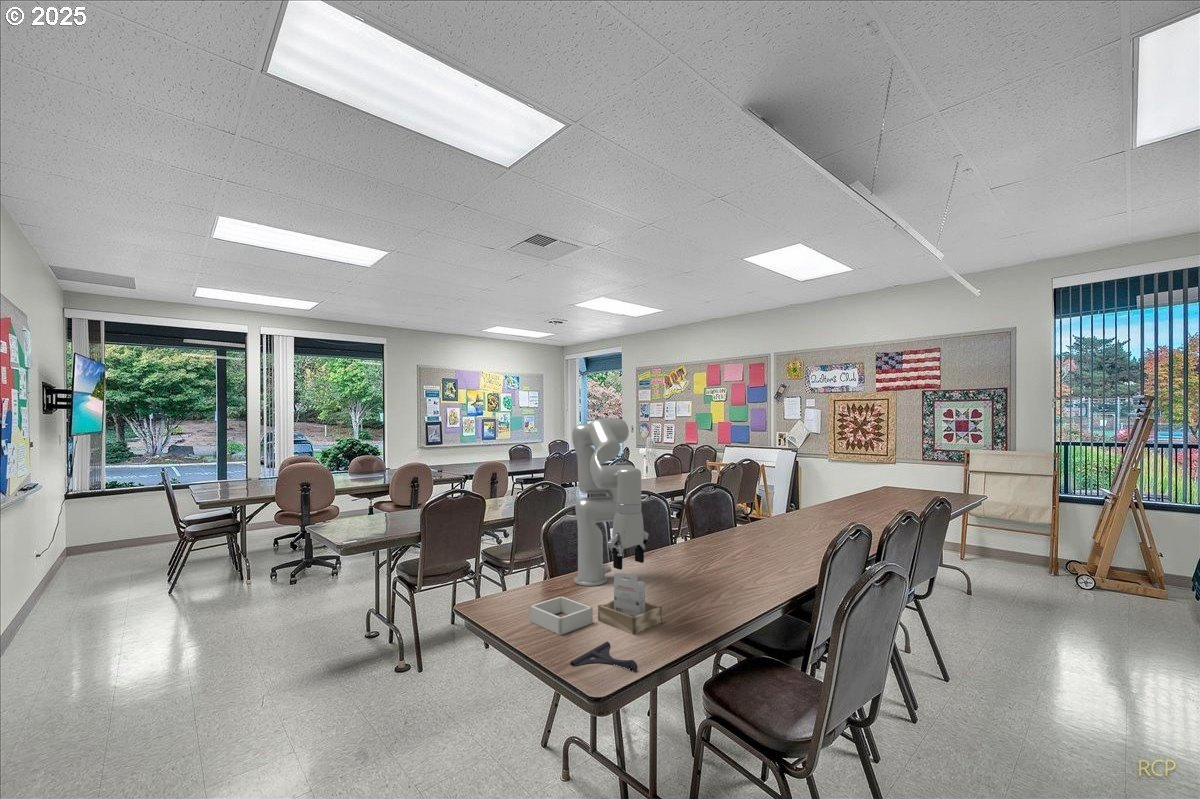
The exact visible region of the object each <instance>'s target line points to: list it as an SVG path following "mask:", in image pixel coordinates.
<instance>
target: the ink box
mask: <svg viewBox="0 0 1200 799" xmlns="http://www.w3.org/2000/svg"><path fill="white" fill-rule="evenodd" d="M613 574H614V577H613V578H614V580H613V600H614V610H616V611H619V612H621V613H624V614H627V615H630V616H633V617H635V616H637V615H640V614H642V613H645V602H646V586H645V585H646V584H645V583H646V582H645V581H641V580H640V581H639V578H638V577H639V576H638V575H637V574H631V573H625V572H624V573H623V572H618V571H615V572H614V573H613ZM625 577H626V578H627V579H626V578H625Z"/></svg>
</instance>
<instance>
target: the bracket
mask: <svg viewBox="0 0 1200 799" xmlns="http://www.w3.org/2000/svg"><path fill="white" fill-rule="evenodd" d="M610 649H611V643H610V642H609V641H605V642H603V643H602V644H599V645H598V646H596V647H595V648H593V649H591V650H589V651H587V652H585V653H584V654H582V655H579V656H578V657H577V658H574V659H573V660H571V661H570V662H569V664H570V666H572V665H573V666H574V667H580V666H585V665H590V664H591V665H592V664H607V665H613V664H615V665H614V666H616V665H618V666H621V667H625V668H627V669H629V668H630V667H632V668H633V669H632V670H633V671H635V670H636V671H638V664H637V662H636V661H635V660H633V659H629V660H628V659H627V660H626V659H619V658H617V659H616V658H614V657H612V656H611V654H610ZM618 666H617V667H618ZM621 667H620V668H621ZM627 669H626V670H627ZM630 669H631V668H630ZM636 671H635V672H636Z"/></svg>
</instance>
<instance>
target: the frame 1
mask: <svg viewBox="0 0 1200 799" xmlns="http://www.w3.org/2000/svg"><path fill="white" fill-rule="evenodd" d="M593 609H594V608H593V606H589V605H587V604H583V603H581V602H579V601H575V600H573V599H570V598H567V597H564V596H563V595H562V596H557V597H554V598H551V599H548V600H544V601H541V602H539V603H535V604H532V605H531V604H530V605H529V615H528V616H529V618H528V619H529V620H528V621H529V622H530V623H533V624H535V625H537V626H538V627H539V626H540V627H541V628H543V629H546V630H548V631H550V632H553V633H555V634H557V635H559V636H562V635H565V634H567V633H569V632H573V631H575V630H577V629H580V628H582V627H583V628H584V627H585V626H589V625H591V624H593V623H594V622H593V621H594V620H593V615H594V614H593V612H594V610H593ZM558 613H563V614H565V615H563V616H561V617H560V616H559V615H556V614H558Z"/></svg>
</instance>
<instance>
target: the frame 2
mask: <svg viewBox="0 0 1200 799" xmlns="http://www.w3.org/2000/svg"><path fill="white" fill-rule="evenodd" d="M597 608H598V609H597V621H598V622H600V623H603V624H606V625H607V626H611V627H614V628H616V629H618V630H622V631H623V630H624V632H626V631H627V632H626V633H629V632H630V633H629V634H631V633H632V635H637V634H639V633H641V632H643V631H646V630H647V628H648V629H650V628H652V626H653V627H655V626H657V625H659V624H658V623H660V624H661V622H662V623H663V608H662V606H660V605H656V604H653V603H650V602H647V601H645V613H642V614H640V615H637V616H635V617H633V616H630V615H627V614H624V613H621V612H619V611H616V610H614V599H612V600H610V601H607V602H604V603H602V604H598V605H597ZM656 624H657V625H656ZM654 625H655V626H654ZM645 629H646V630H645ZM640 631H641V632H640ZM638 632H639V633H638ZM636 633H637V634H636Z"/></svg>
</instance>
